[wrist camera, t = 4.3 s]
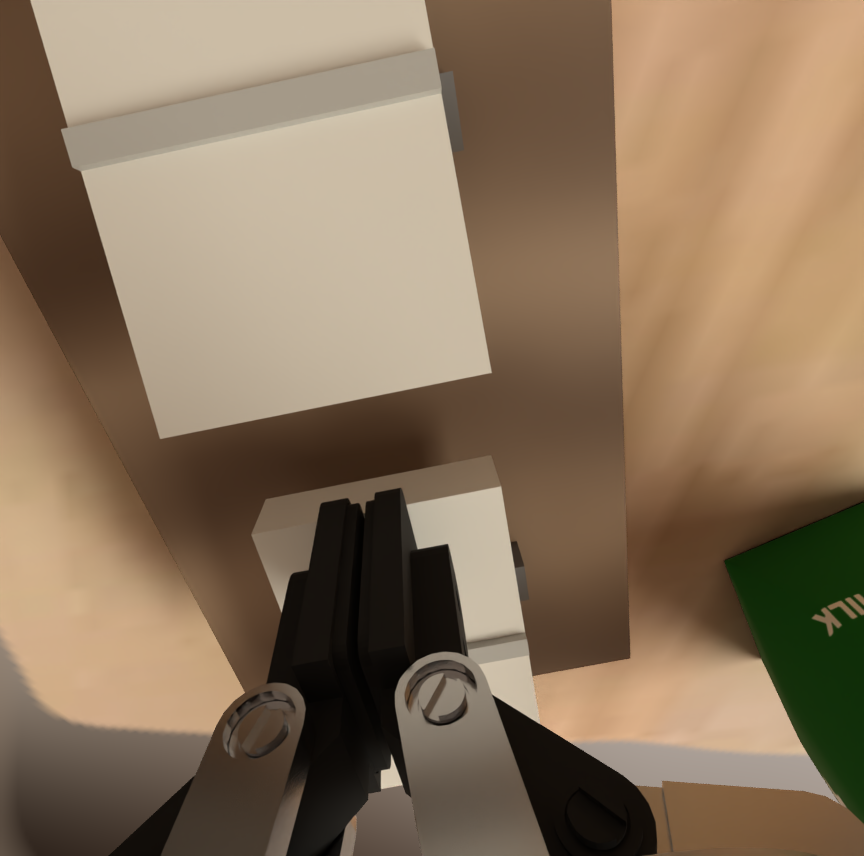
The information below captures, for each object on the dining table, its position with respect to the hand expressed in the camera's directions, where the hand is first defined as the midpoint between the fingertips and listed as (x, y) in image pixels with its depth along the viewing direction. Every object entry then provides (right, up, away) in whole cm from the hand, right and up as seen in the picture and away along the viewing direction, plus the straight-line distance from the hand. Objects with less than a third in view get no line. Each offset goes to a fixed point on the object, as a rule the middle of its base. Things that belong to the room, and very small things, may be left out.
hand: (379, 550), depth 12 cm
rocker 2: (+1, -2, +3) cm, 4 cm away
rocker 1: (-1, +7, -2) cm, 8 cm away
